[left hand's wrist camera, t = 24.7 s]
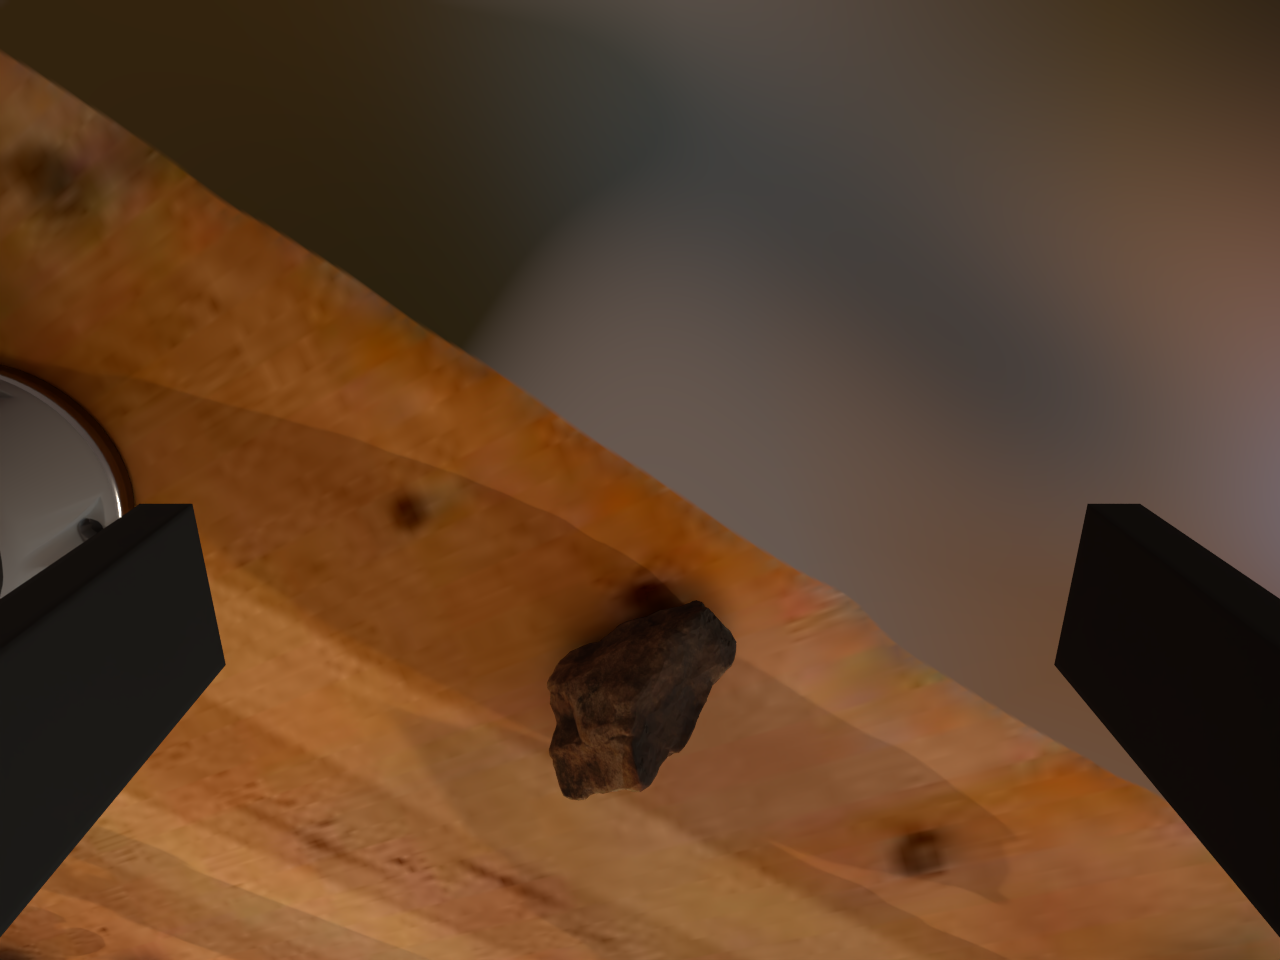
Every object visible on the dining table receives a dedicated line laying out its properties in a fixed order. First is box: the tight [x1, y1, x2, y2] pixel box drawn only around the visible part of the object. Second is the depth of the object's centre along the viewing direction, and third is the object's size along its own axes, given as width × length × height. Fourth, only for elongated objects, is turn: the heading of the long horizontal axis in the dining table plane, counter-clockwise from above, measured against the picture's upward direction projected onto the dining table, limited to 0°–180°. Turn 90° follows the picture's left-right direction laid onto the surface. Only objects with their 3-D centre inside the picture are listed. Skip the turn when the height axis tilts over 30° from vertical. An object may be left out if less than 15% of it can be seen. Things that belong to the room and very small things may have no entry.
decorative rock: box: [547, 600, 736, 800], centre depth 49 cm, size 12×6×11 cm, turn 117°
